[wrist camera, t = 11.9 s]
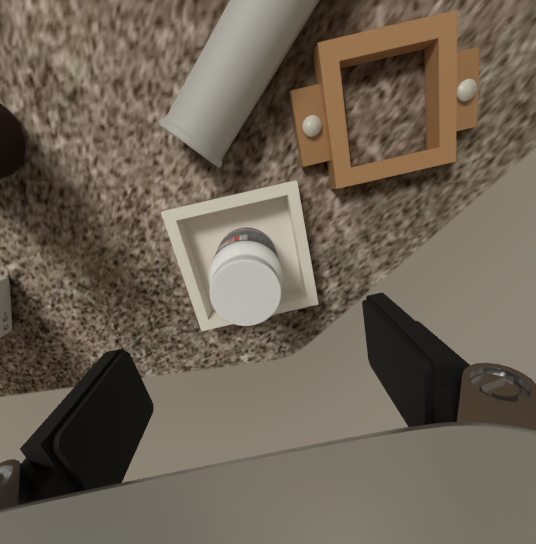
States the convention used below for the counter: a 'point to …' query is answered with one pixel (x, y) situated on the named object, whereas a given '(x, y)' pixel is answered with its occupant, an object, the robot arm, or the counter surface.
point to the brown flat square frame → (438, 97)
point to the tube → (234, 72)
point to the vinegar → (10, 144)
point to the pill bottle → (245, 277)
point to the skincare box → (5, 306)
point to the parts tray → (230, 216)
